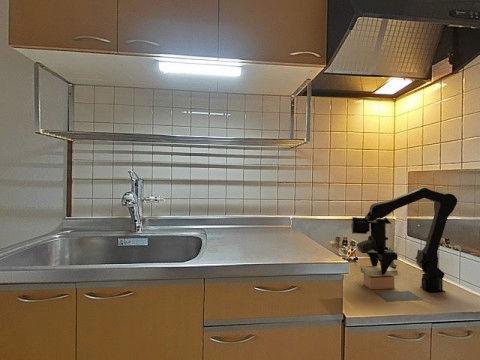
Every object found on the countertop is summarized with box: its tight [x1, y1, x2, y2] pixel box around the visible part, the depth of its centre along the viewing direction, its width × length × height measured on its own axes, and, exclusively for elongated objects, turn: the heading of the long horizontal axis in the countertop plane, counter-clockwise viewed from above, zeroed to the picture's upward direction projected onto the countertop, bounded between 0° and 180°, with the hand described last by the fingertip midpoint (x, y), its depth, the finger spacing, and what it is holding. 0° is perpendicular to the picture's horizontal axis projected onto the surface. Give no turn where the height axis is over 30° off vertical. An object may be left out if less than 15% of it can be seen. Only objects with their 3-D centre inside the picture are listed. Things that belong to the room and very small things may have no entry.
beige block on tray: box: [360, 265, 398, 277], centre depth 130 cm, size 12×7×2 cm, turn 94°
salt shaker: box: [386, 247, 398, 270], centre depth 149 cm, size 6×6×12 cm
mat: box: [374, 290, 424, 303], centre depth 119 cm, size 14×9×1 cm, turn 94°
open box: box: [363, 273, 395, 290], centre depth 130 cm, size 10×6×5 cm, turn 94°
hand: (378, 271), depth 130 cm, fingers closed on beige block on tray, 7 cm apart
